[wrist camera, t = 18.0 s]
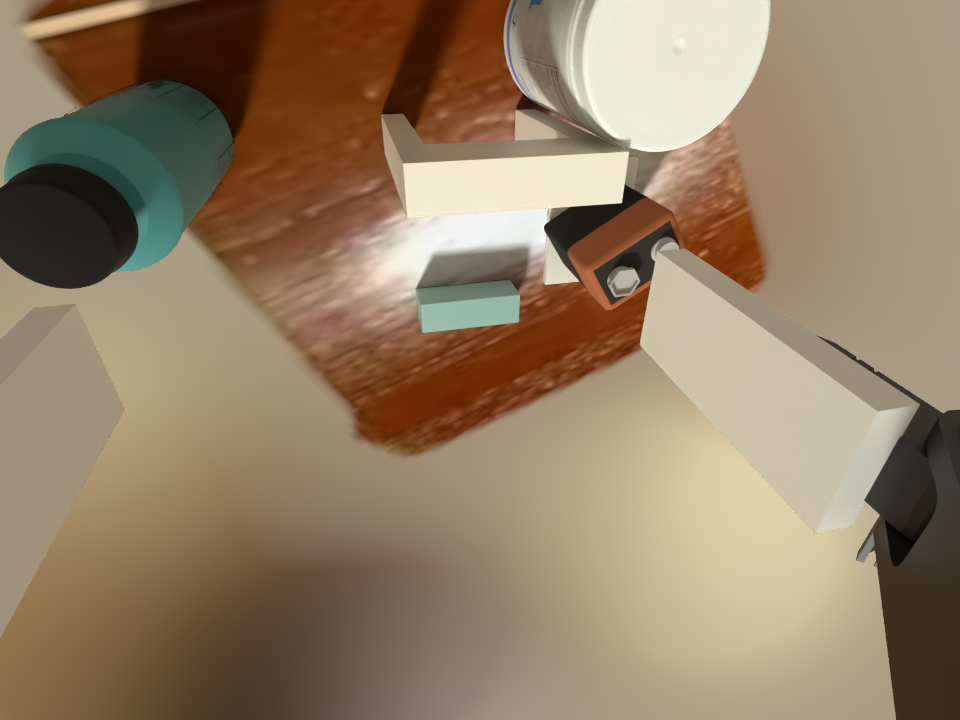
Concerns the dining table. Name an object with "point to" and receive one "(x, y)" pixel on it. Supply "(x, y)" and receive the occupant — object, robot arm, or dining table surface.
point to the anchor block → (467, 305)
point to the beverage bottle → (110, 184)
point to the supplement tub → (637, 63)
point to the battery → (614, 244)
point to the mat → (553, 264)
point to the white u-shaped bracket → (504, 169)
